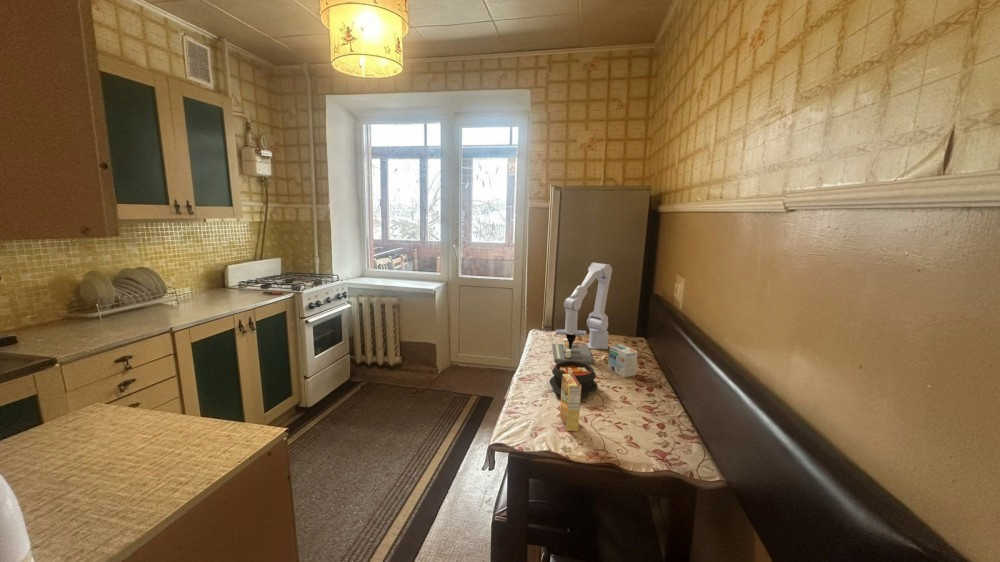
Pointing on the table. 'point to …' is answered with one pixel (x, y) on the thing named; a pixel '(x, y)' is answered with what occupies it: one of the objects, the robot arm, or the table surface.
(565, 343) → the handle
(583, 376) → the casserole
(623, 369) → the light bulb box
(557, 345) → the breaker panel
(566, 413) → the candy box
